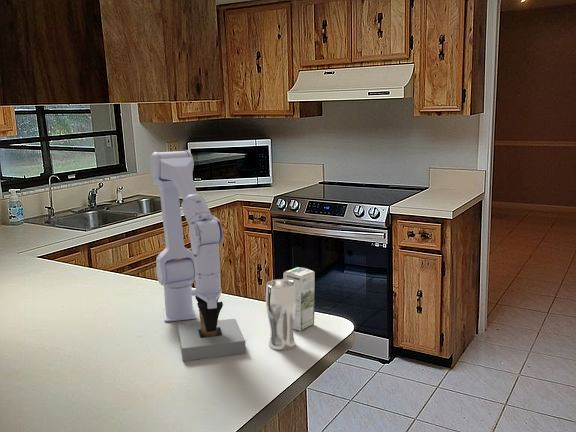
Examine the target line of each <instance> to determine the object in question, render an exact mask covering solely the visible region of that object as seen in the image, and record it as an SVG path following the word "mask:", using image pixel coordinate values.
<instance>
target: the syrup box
mask: <svg viewBox="0 0 576 432" xmlns="http://www.w3.org/2000/svg"><path fill="white" fill-rule="evenodd" d="M315 273H316V272H315V271H314V270H311V269H309V268H306V267H298V266H297V267H295V268H292V269H289V270H285V271H284V272H283V277H282V279H287V280H291V281H294V282H295V290H296V312H295V318H294V324H293V330H295V331H298V332H299V331H300V332H302V331H304V330H306V329H307V328H310V327H311V326H313V325H315V279H316V278H315V275H316V274H315Z"/></svg>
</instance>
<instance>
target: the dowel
mask: <svg viewBox="0 0 576 432" xmlns="http://www.w3.org/2000/svg"><path fill="white" fill-rule="evenodd" d="M198 311H199V313H198V314H199V315H198V316H199V321H200V324H201V334H202V338H206V337H214V336H217V328H216V331H212V332H207V331H206V328H205V324H204V319H203V315H202V313H201V311H200V309H199V308H198Z"/></svg>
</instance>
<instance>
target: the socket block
mask: <svg viewBox="0 0 576 432" xmlns="http://www.w3.org/2000/svg"><path fill="white" fill-rule="evenodd" d="M177 326H178V327H177V329H178V341H179V345H180V347H179V348H180V352H181V360H182V362H187V361H194V360H203V359H211V358H212V359H213V358H220V357H226V356H236V355H242V354H246V340H245V337H244V335H243V333H242V331H241V328H240V326H239V324H238V322H237V320H236V318H228V319H218V322H217V336H214V337H206V338H202V334H201V324H200V322H191V323H182V324H177Z"/></svg>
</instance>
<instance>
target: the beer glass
mask: <svg viewBox="0 0 576 432" xmlns="http://www.w3.org/2000/svg"><path fill="white" fill-rule="evenodd" d="M265 290H266V291H265V304H266V305H265V307H266V313H267V317H268V324H269V329H270V330H269V331H270V334H269V335H270V337H269V341H268V342H269V343H268V346H269V347H270V349H273V350H276V351H288V350H291V349H293V348H294V347H295V346H296V341H295V336H294V329H293V324H294V318H295V312H296V290H295V282H294V281H291V280H287V279H283V278H281V279H280V278H279V279H278V278H277V279H272V280H270V281H267V283H266V289H265Z"/></svg>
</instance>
